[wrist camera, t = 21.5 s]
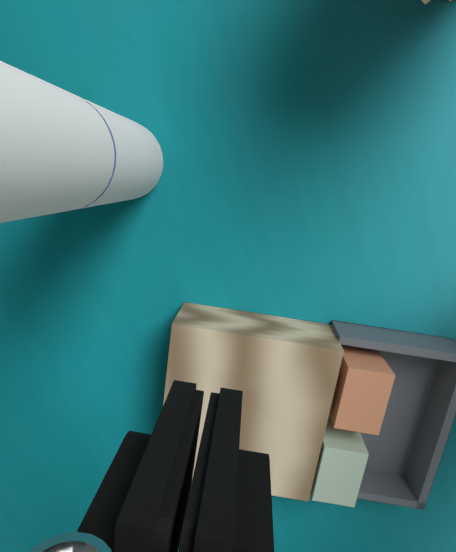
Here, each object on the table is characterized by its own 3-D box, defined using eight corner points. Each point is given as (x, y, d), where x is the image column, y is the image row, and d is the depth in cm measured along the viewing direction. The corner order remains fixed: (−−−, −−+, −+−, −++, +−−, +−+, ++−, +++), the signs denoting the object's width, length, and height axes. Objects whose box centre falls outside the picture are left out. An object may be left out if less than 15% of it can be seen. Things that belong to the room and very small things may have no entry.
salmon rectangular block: (334, 339, 39) (374, 345, 39) (322, 391, 40) (361, 398, 40) (348, 367, 33) (395, 375, 33) (333, 428, 35) (378, 435, 34)
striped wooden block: (330, 324, 39) (344, 350, 33) (301, 457, 43) (308, 501, 37) (184, 302, 39) (171, 323, 34) (169, 435, 43) (155, 475, 38)
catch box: (452, 338, 38) (474, 356, 34) (408, 479, 43) (424, 509, 39) (331, 320, 39) (340, 335, 35) (300, 461, 43) (305, 489, 39)
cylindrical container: (156, 206, 37) (-29, 261, 13) (84, 190, 37) (-232, 215, 13) (169, 129, 35) (-21, 26, 11) (93, 113, 35) (-257, -25, 11)
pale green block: (315, 408, 41) (352, 414, 41) (304, 456, 42) (340, 462, 42) (324, 446, 35) (368, 454, 35) (312, 500, 37) (354, 507, 36)
